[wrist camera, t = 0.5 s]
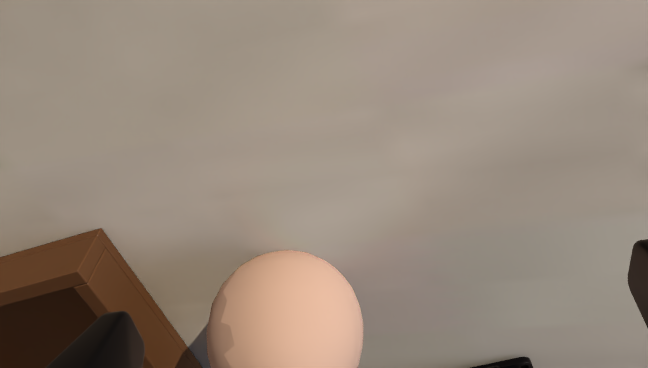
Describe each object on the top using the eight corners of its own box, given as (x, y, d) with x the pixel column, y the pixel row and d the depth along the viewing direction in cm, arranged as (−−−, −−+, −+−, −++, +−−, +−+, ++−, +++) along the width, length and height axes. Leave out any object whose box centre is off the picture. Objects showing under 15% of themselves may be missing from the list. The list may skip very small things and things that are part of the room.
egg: (280, 336, 30) (269, 485, 23) (191, 262, 27) (148, 410, 20) (384, 281, 28) (406, 428, 21) (300, 193, 25) (294, 333, 18)
